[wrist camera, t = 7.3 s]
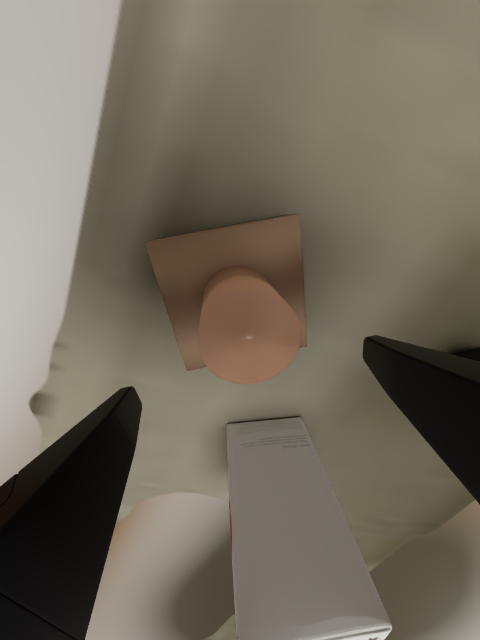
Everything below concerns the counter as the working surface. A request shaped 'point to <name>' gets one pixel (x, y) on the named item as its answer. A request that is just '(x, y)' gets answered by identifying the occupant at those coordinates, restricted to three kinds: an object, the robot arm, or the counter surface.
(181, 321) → the tan flat block
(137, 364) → the counter surface
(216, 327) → the terracotta cylinder
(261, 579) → the supplement box
